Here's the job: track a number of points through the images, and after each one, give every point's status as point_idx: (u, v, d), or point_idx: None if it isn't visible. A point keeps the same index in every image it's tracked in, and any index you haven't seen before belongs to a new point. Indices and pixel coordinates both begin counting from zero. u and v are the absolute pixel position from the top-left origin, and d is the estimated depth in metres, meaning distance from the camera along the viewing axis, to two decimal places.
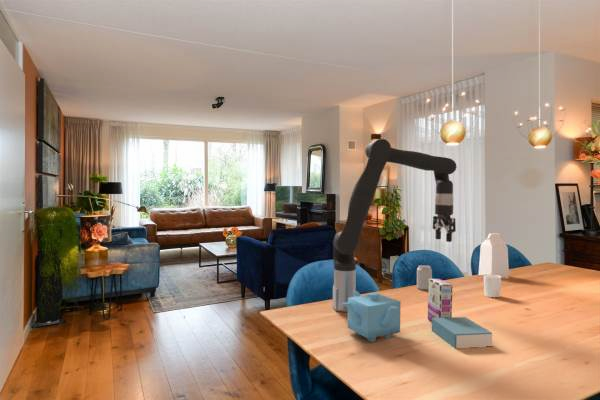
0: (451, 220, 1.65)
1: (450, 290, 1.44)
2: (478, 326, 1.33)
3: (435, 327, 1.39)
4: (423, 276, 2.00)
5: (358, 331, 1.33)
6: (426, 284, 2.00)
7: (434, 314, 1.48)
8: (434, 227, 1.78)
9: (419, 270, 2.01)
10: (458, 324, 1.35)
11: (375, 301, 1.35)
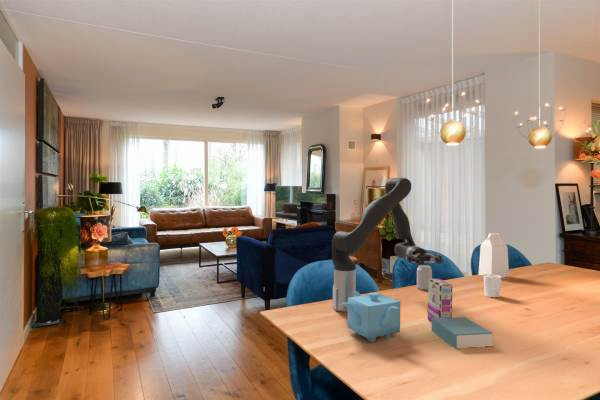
0: None
1: (450, 290, 1.44)
2: (478, 326, 1.33)
3: (435, 327, 1.39)
4: (423, 276, 2.00)
5: (358, 331, 1.33)
6: (426, 284, 2.00)
7: (434, 314, 1.48)
8: (411, 257, 1.65)
9: (419, 270, 2.01)
10: (458, 324, 1.35)
11: (375, 301, 1.35)
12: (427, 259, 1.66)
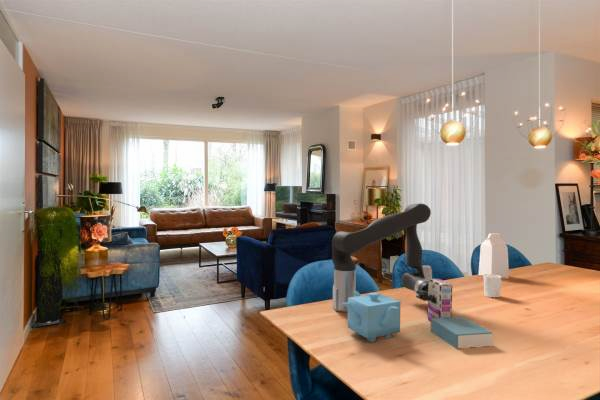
0: None
1: (450, 290, 1.44)
2: (478, 326, 1.34)
3: (435, 327, 1.38)
4: None
5: (358, 331, 1.33)
6: None
7: (434, 314, 1.48)
8: (425, 294, 1.52)
9: None
10: (458, 324, 1.35)
11: (375, 301, 1.35)
12: None
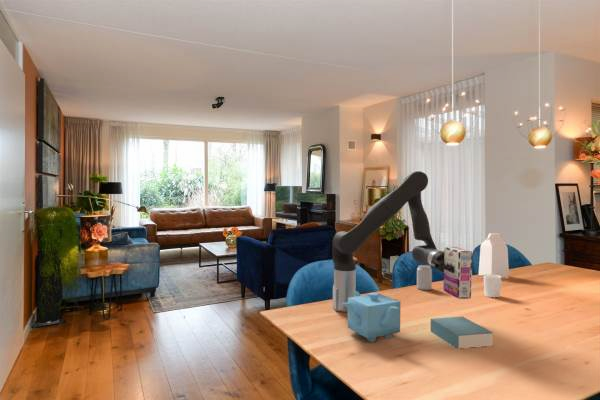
0: None
1: (470, 257, 1.32)
2: (477, 326, 1.34)
3: (435, 327, 1.38)
4: (423, 276, 2.00)
5: (358, 331, 1.33)
6: (426, 284, 2.00)
7: (452, 284, 1.36)
8: (441, 263, 1.40)
9: (419, 270, 2.01)
10: (458, 324, 1.35)
11: (375, 301, 1.35)
12: None
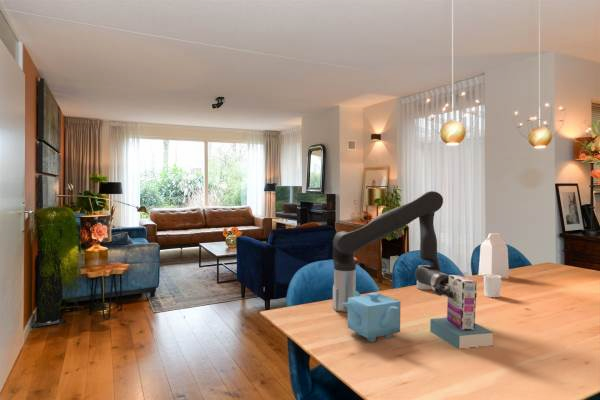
0: None
1: (474, 287, 1.29)
2: (477, 325, 1.34)
3: (435, 328, 1.38)
4: None
5: (358, 331, 1.33)
6: None
7: (456, 315, 1.33)
8: None
9: None
10: None
11: (375, 301, 1.35)
12: None
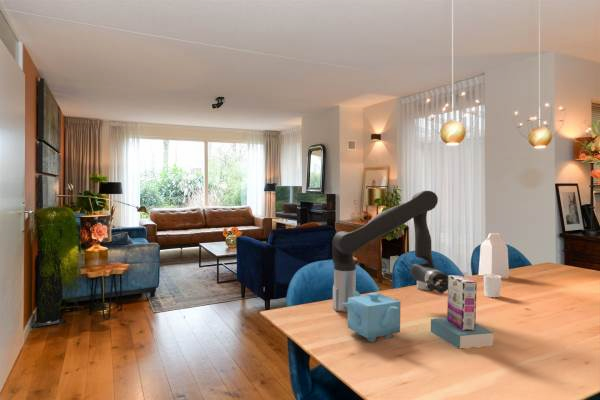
0: None
1: (474, 288, 1.29)
2: (478, 325, 1.34)
3: (435, 328, 1.38)
4: None
5: (358, 331, 1.33)
6: None
7: (456, 315, 1.33)
8: (432, 284, 1.44)
9: None
10: None
11: (375, 301, 1.35)
12: None
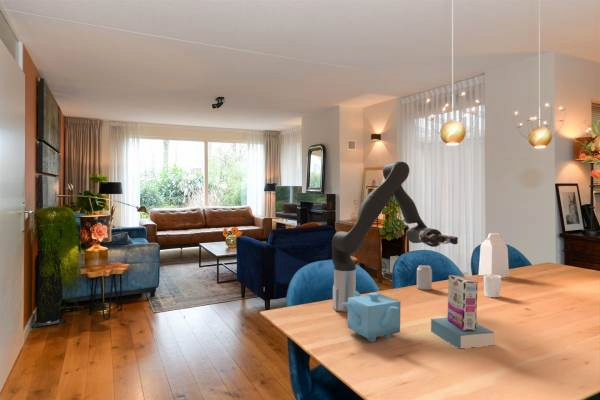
0: None
1: (475, 288, 1.29)
2: (478, 325, 1.34)
3: (436, 328, 1.38)
4: (423, 276, 2.00)
5: (358, 331, 1.33)
6: (426, 284, 2.00)
7: (457, 315, 1.32)
8: (425, 237, 1.57)
9: (419, 270, 2.01)
10: None
11: (375, 301, 1.35)
12: (442, 240, 1.58)
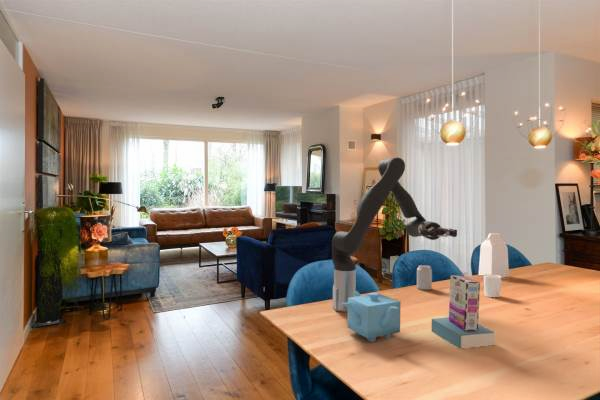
0: None
1: (478, 288, 1.28)
2: (479, 325, 1.34)
3: (436, 327, 1.38)
4: (423, 276, 2.00)
5: (358, 331, 1.33)
6: (426, 284, 2.00)
7: (458, 315, 1.32)
8: (425, 230, 1.58)
9: (419, 270, 2.01)
10: None
11: (375, 301, 1.35)
12: (442, 233, 1.59)
